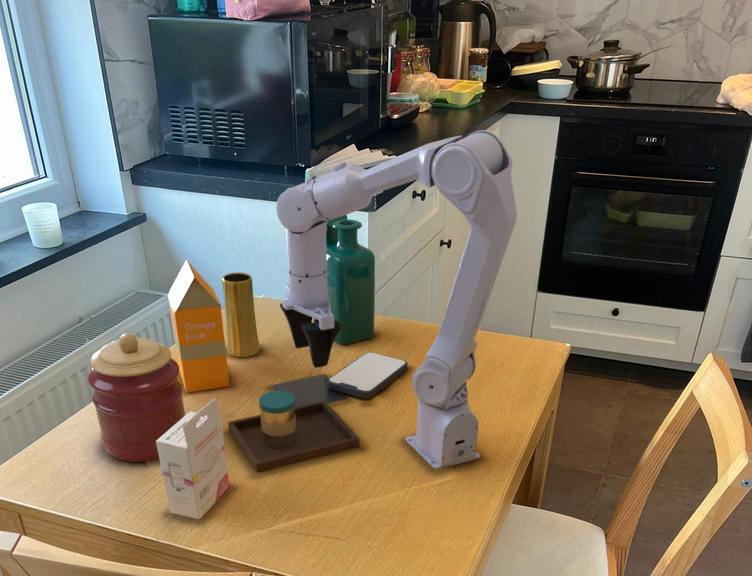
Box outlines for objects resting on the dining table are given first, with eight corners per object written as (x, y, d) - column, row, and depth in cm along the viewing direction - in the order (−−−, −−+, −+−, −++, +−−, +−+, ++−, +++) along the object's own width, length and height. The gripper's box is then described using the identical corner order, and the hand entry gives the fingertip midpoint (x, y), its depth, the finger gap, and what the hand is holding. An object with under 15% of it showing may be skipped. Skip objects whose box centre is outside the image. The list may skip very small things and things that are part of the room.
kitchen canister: (85, 445, 118) (59, 337, 108) (152, 412, 127) (133, 309, 117) (140, 474, 112) (118, 363, 102) (207, 437, 120) (192, 331, 110)
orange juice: (185, 392, 132) (168, 279, 121) (178, 371, 139) (162, 261, 128) (230, 386, 134) (218, 273, 123) (221, 365, 141) (209, 256, 130)
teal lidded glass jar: (302, 443, 118) (300, 403, 114) (269, 451, 116) (265, 410, 112) (289, 427, 122) (287, 387, 118) (257, 435, 120) (253, 395, 116)
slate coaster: (347, 401, 130) (347, 398, 130) (292, 413, 127) (292, 410, 126) (324, 376, 138) (324, 373, 137) (271, 388, 134) (271, 385, 134)
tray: (359, 449, 118) (359, 438, 117) (257, 475, 112) (256, 464, 111) (324, 410, 128) (324, 400, 127) (229, 432, 122) (227, 421, 121)
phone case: (367, 358, 144) (323, 389, 132) (367, 350, 143) (323, 380, 131) (410, 369, 141) (369, 402, 129) (410, 361, 140) (369, 393, 128)
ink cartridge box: (200, 481, 111) (186, 389, 102) (230, 488, 109) (220, 395, 101) (167, 515, 104) (150, 419, 95) (199, 523, 103) (185, 427, 94)
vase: (257, 358, 144) (251, 283, 136) (225, 357, 144) (216, 283, 136) (262, 344, 149) (256, 271, 140) (230, 343, 149) (222, 271, 141)
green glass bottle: (378, 337, 152) (379, 223, 139) (341, 347, 148) (339, 230, 135) (351, 320, 158) (351, 210, 146) (316, 329, 155) (311, 217, 142)
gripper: (265, 259, 117) (271, 342, 125) (300, 291, 106) (304, 380, 114) (308, 253, 119) (311, 335, 127) (346, 283, 109) (347, 371, 117)
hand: (311, 356), depth 121 cm, fingers open, 7 cm apart
